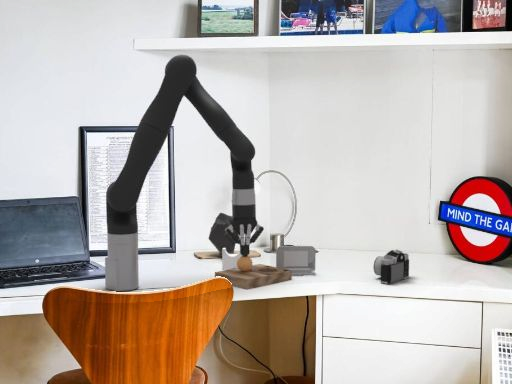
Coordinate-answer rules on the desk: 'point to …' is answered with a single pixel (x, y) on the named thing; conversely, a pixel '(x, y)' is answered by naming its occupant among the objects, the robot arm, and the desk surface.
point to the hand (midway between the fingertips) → (244, 256)
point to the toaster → (296, 259)
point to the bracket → (229, 260)
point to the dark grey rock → (222, 234)
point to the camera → (392, 266)
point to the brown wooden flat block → (255, 276)
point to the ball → (244, 263)
